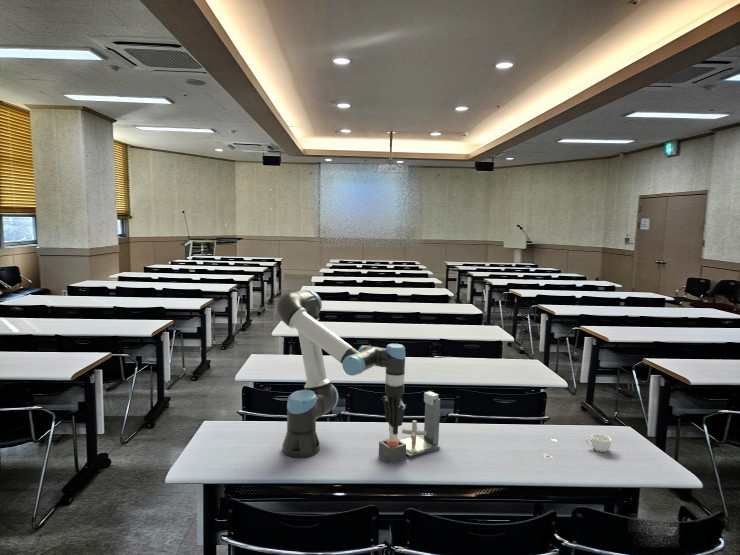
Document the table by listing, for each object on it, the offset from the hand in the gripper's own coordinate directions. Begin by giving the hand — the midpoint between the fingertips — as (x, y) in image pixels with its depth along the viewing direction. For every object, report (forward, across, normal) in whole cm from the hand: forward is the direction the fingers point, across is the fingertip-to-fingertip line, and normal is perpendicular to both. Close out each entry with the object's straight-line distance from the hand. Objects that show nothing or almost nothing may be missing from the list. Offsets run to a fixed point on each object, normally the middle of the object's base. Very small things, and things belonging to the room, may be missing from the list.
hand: (393, 440), depth 194 cm
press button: (+3, 0, 0) cm, 3 cm away
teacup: (+8, -40, -80) cm, 90 cm away
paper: (+8, -31, -60) cm, 68 cm away
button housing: (+7, 0, 0) cm, 7 cm away
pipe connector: (+6, +2, -13) cm, 14 cm away
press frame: (+7, +2, -14) cm, 16 cm away
